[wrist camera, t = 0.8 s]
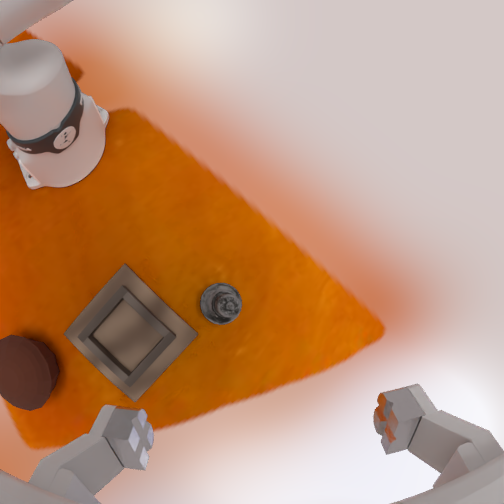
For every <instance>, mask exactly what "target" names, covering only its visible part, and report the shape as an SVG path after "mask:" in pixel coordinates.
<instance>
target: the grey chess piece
mask: <svg viewBox="0 0 504 504" xmlns="http://www.w3.org/2000/svg"><path fill="white" fill-rule="evenodd" d="M200 307H201V310H202V313H203V315H204V316H205V317H206V318H207V319H208V320H209V321H210V322H212V323H215V324H219V325H221V324H227V323H230V322H232V321H233V320H235V319H236V318H237V317H238V315H239V313H240V311H241V307H242V300H241V297H240V294H239V293H238V291H237V290H236V289H235V288H234V287H233V286H231V285H229V284H225V283H216V284H213V285H211V286H209V287H208V288H207V289H206V290H205V291H204V293H203V295H202V297H201V301H200Z"/></svg>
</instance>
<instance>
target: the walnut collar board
mask: <svg viewBox="0 0 504 504" xmlns="http://www.w3.org/2000/svg"><path fill="white" fill-rule="evenodd" d="M64 335H65V336H66V337H67V338H68V339H69V340H70V341H71V342H72V344H73V345H74V346H75V347H76V348H77V349H78V350H79V351H80V352H81V353H82V354H83V355H84V356H85V357H86V358H87V359H88V360H89V361H90V362H91V363H92V364H93V365H94V366H95V367H96V368H97V369H98V370H99V371H100V372H101V373H102V374H104V375H105V376H106V377H107V378H108V379H109V380H110V381H111V382H112V383H113V384H114V385H115V386H117V387H118V388H119V389H120V390H121V391H122V392H123V393H125V394H126V395H127V396H128V397H129V398H130V399H132V400H133V401H134V402H136V401H137V400H138V399H139V398H140V397H141V396H142V394H143V393H144V392H145V391H146V390H147V389H148V388H149V387H150V386H151V385H152V384H153V383H154V382H155V381H156V379H157V378H158V377H159V376H160V375H161V374H162V373H163V372H164V371H165V370H166V369H167V368H168V367H169V366H170V364H171V363H172V362H173V361H174V360H175V359H176V358H177V357H178V356H179V355H180V354H181V353H182V351H183V350H184V349H185V348H186V347H187V346H188V345H189V344H190V343H191V342H192V341H193V340H194V338H195V337H196V336H197V335H198V333H197V332H196V331H195V330H194V329H193V328H191V327H190V326H189V325H188V324H187V323H186V322H185V321H184V320H183V319H182V318H180V317H179V316H178V315H177V314H176V313H175V312H174V311H173V310H172V309H171V308H170V307H169V306H168V305H167V304H165V303H164V302H163V301H162V300H161V299H160V298H159V297H158V296H157V295H156V294H155V293H154V292H153V291H152V290H151V289H150V288H149V287H148V286H147V285H146V284H145V283H144V282H143V281H142V280H141V279H140V278H139V277H138V276H137V275H136V274H135V273H134V272H133V271H132V270H131V269H130V268H129V267H128V266H127V265H126V264H124V265H123V266H122V267H121V268H120V269H119V270H118V272H117V273H116V274H115V275H114V276H113V277H112V278H111V279H110V280H109V281H108V283H107V284H106V285H105V286H104V287H103V288H102V289H101V290H100V292H99V293H98V294H97V295H96V296H95V297H94V298H93V300H92V301H91V302H90V303H89V304H88V305H87V306H86V308H85V309H84V310H83V311H82V312H81V314H80V315H79V316H78V317H77V318H76V319H75V321H74V322H73V323H72V324H71V326H70V327H69V328H68V329H67V330H66V332H65V333H64Z"/></svg>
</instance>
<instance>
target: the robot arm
mask: <svg viewBox="0 0 504 504" xmlns="http://www.w3.org/2000/svg"><path fill="white" fill-rule="evenodd" d="M71 1H73V0H0V124H1V125H2V126H3V127H4V128H5V129H6V132H7V134H8V136H9V138H10V139H8V140H7V145H8V147H9V148H10V150H11V151H15V152H14V153H13V155H14V157H15V158H16V159H17V160H18V162H19V165H20V168H21V171H22V173H23V176H24V178H25V181H26V183H27V185H28V187H29V188H30V189H37V188H40V187H43V186H50V187H66V186H69V185H72V184H75V183H77V182H78V181H80V180H82V179H83V178H85V177H86V176H87V175H88V174H89V173H90V172H91V171H92V170H93V169H94V168H95V166H96V165H97V164H98V162H99V160H100V158H101V156H102V154H103V151H104V147H105V128H106V125H107V123H108V120H109V114H108V112H107V111H106V110H105V109H103V108H101V107H99V106H97V105H96V104H95V102H94V100H93V98H92V97H91V96H87V95H86V94H84V93H82V92H81V90H80V88H79V86H78V85H77V83H76V81H75V80H74V79H73V78H72V77H71V76H70V73H69V70H68V68H67V65H66V62H65V60H64V57H63V54H62V52H61V50H60V49H59V48H58V47H57V46H56V45H54V44H53V43H50V42H48V41H44V40H39V39H31V40H25V41H21V42H16V43H9V44H6V43H7V42H9V41H10V40H11V39H13V38H14V37H16V36H17V35H19V34H20V33H22V32H23V31H25V30H26V29H28V28H29V27H31V26H32V25H34V24H35V23H37V22H39V21H40V20H42V19H44V18H45V17H47V16H49V15H51V14H52V13H54V12H56V11H58V10H60V9H61V8H63V7H64V6H65V5H67V4H68V3H70V2H71ZM30 176H32V177H31V178H30ZM377 402H378V404H379V406H378V407H377V408H376V409H375V411H374V426H375V429H376V432H377V433H378V434H380V435H382V439H381V443H382V446H383V448H384V450H385V453H386V454H391V453H395V452H399V451H402V450H405V449H408V451H409V452H411V453H412V454H414V455H415V456H417V457H418V458H419V459H421V460H422V461H424V462H425V463H427V464H428V465H430V466H431V467H432V468H434V469H435V470H437V471H438V472H440V473H441V474H440V476H439V477H438V479H437V480H436V482H435V483H434V485H433V487H434V488H433V489H431V490H428V491H426V492H423V493H420V494H418V495H415V496H413V497H409V498H406V499H403V500H401V501H397V502H394V503H391V504H504V451H503V449H502V448H501V447H500V445H499V444H498V442H497V441H496V440H495V438H494V437H493V435H492V434H491V433H490V431H489V430H486V429H484V428H481V427H479V426H476V425H474V424H472V423H469V422H467V421H465V420H462V419H460V418H458V417H456V416H453V415H451V414H449V413H446V412H444V411H442V410H440V411H437V409H436V408H435V406H434V405H433V403H432V402H431V400H430V399H429V397H428V396H427V395H426V393H425V392H424V391H423V389H422V387H421V386H420V385H419V384H415V385H411V386H407V387H403V388H399V389H395V390H391V391H387V392H383V393H380V394H379V396H378V399H377ZM146 419H147V414H146V412H145V410H144V409H138V408H130V407H122V406H113V405H104V406H103V407H102V409H101V411H100V413H99V415H98V416H97V418H96V420H95V422H94V424H93V426H92V428H91V430H90V432H89V434H84V435H82V436H80V437H79V438H77V439H75V440H74V441H72V442H70V443H69V444H67V445H65V446H64V447H62V448H60V449H59V450H57V451H55V452H54V453H52V454H50V455H49V456H46V457H45V458H43V459H41V460H40V462H39V464H38V466H37V467H36V469H35V471H34V473H33V475H32V477H31V479H30V480H29V482H28V483H27V482H25V481H23V480H21V479H19V478H17V477H15V476H12V475H11V474H9V473H6V472H4V471H3V470H1V469H0V504H100V502H99V501H98V500H97V499H96V498H95V497H94V495H95V494H96V493H97V492H99V491H100V490H101V489H102V488H103V487H104V486H105V485H106V484H108V483H109V482H110V481H111V480H112V479H113V478H114V477H115V476H116V475H118V474H119V473H120V472H121V471H122V470H123V469H124V468H131V469H138V470H145V469H146V466H147V463H148V459H149V455H148V453H147V451H148V450H149V449H151V448H152V445H153V440H154V433H153V429H152V426H151V424H150V423H148V422H147V421H146ZM123 467H124V468H123Z"/></svg>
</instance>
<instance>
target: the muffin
mask: <svg viewBox="0 0 504 504" xmlns="http://www.w3.org/2000/svg"><path fill="white" fill-rule="evenodd" d="M59 372H60V371H59V368H58V366H57V363H56V358H55V354H54V353H53V352H51V351H50V350H49V349H48V347H47V346H46V345H45V344H44V342H38V341H34V340H32V339H26V338H25V337H20V336H15V335H10V336H7V337H5V338H3V339H1V340H0V394H1V396H2V397H3V398H4V399H6V400H7V401H8V402H9V403H11V404H12V405H13V406H16V407H18V408H21V409H25V410H29V411H31V410H34V409H37V408H41V407H42V406H43V405H44V404H45V402H46V401H47V399H48V398H49V397H50V393H51V392H52V390H53V389H54V387H55V385H56V380H57V376H58V374H59Z"/></svg>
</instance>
